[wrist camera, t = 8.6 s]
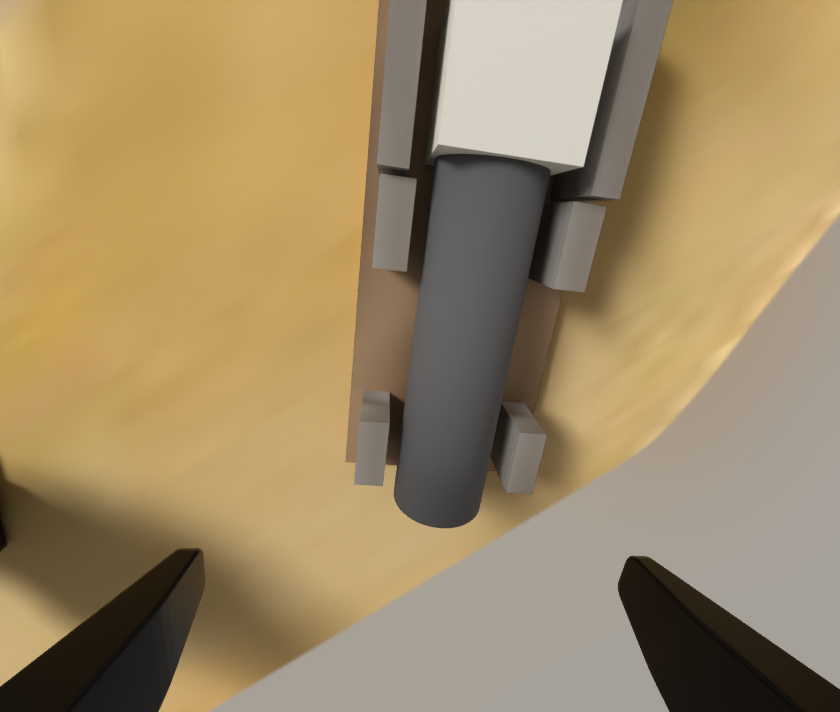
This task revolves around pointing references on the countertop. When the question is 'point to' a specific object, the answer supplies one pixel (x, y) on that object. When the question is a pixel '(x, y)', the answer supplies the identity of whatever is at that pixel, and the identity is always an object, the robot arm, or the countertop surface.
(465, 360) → the gray rod with block
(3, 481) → the countertop surface
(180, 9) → the countertop surface
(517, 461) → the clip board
